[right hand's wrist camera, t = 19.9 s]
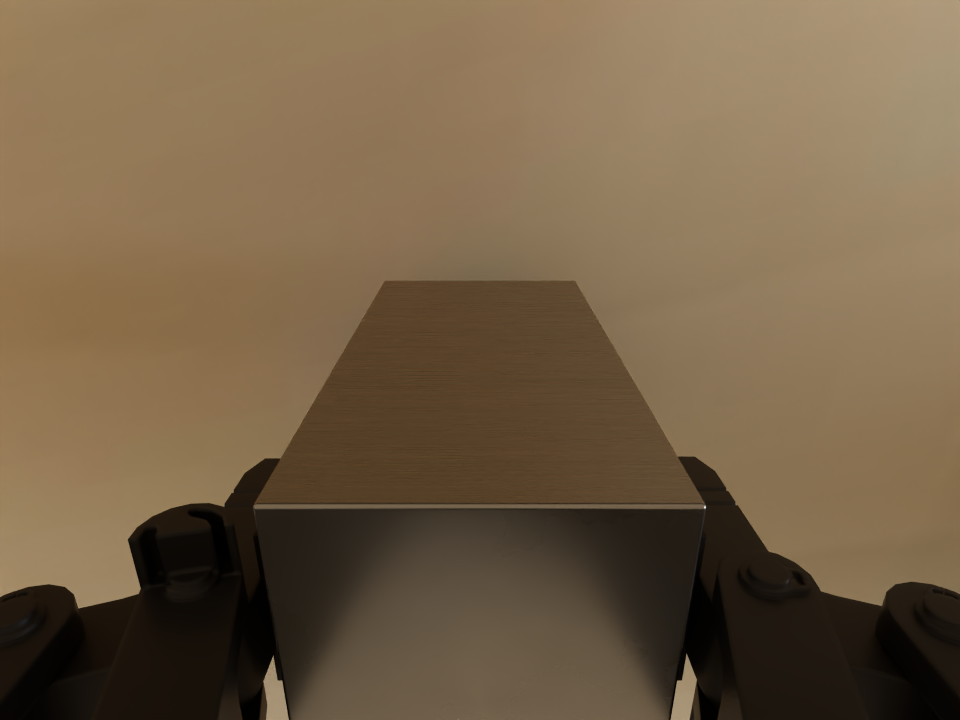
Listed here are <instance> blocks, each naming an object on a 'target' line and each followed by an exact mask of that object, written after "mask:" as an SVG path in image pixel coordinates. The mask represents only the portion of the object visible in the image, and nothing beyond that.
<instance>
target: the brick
mask: <svg viewBox="0 0 960 720" xmlns="http://www.w3.org/2000/svg"><path fill="white" fill-rule="evenodd" d="M253 509H254V515H255V521H256V527H257V533H258V539H259V545H260V551H261V556H262V562H263V568H264V574H265V580H266V586H267V592H268V598H269V604H270V610H271V616H272V622H273V628H274V634H275V640H276V646H277V651H278V657H279V663H280V669H281V675H282V681H283V687H284V693H285V699H286V705H287V711H288V717H289V720H670V719H671V713H672V707H673V701H674V696H675V690H676V684H677V678H678V672H679V666H680V660H681V654H682V648H683V642H684V636H685V630H686V624H687V618H688V612H689V606H690V600H691V594H692V588H693V582H694V576H695V570H696V565H697V559H698V553H699V547H700V541H701V535H702V529H703V523H704V517H705V511H706V505H705V503H704V501H703V499H702V498H701V496H700V494H699V493H698V491H697V489H696V487H695V486H694V484H693V482H692V481H691V479H690V477H689V475H688V474H687V472H686V470H685V469H684V467H683V465H682V463H681V462H680V460H679V458H678V457H677V455H676V453H675V451H674V450H673V448H672V446H671V445H670V443H669V441H668V440H667V438H666V436H665V434H664V433H663V431H662V429H661V428H660V426H659V424H658V422H657V421H656V419H655V417H654V416H653V414H652V412H651V410H650V409H649V407H648V405H647V404H646V402H645V400H644V398H643V397H642V395H641V393H640V392H639V390H638V388H637V386H636V385H635V383H634V381H633V380H632V378H631V376H630V374H629V373H628V371H627V369H626V368H625V366H624V364H623V363H622V361H621V359H620V357H619V356H618V354H617V352H616V351H615V349H614V347H613V345H612V344H611V342H610V340H609V339H608V337H607V335H606V333H605V332H604V330H603V328H602V327H601V325H600V323H599V321H598V320H597V318H596V316H595V315H594V313H593V311H592V309H591V308H590V306H589V304H588V303H587V301H586V299H585V297H584V296H583V294H582V292H581V291H580V289H579V287H578V286H577V284H576V282H575V281H385V282H384V283H383V285H382V287H381V288H380V290H379V292H378V294H377V295H376V297H375V299H374V300H373V302H372V304H371V305H370V307H369V309H368V311H367V312H366V314H365V316H364V317H363V319H362V321H361V323H360V324H359V326H358V328H357V329H356V331H355V333H354V334H353V336H352V338H351V340H350V341H349V343H348V345H347V346H346V348H345V350H344V352H343V353H342V355H341V357H340V358H339V360H338V362H337V363H336V365H335V367H334V369H333V370H332V372H331V374H330V375H329V377H328V379H327V381H326V382H325V384H324V386H323V387H322V389H321V391H320V392H319V394H318V396H317V398H316V399H315V401H314V403H313V404H312V406H311V408H310V410H309V411H308V413H307V415H306V416H305V418H304V420H303V421H302V423H301V425H300V427H299V428H298V430H297V432H296V433H295V435H294V437H293V439H292V440H291V442H290V444H289V445H288V447H287V449H286V450H285V452H284V454H283V456H282V457H281V459H280V461H279V462H278V464H277V466H276V468H275V469H274V471H273V473H272V474H271V476H270V478H269V480H268V481H267V483H266V485H265V486H264V488H263V490H262V491H261V493H260V495H259V497H258V498H257V500H256V502H255V503H254V506H253Z"/></svg>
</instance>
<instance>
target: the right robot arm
mask: <svg viewBox="0 0 960 720" xmlns="http://www.w3.org/2000/svg"><path fill="white" fill-rule="evenodd" d="M678 458H679V460H680V462H681V463H682V465H683V467H684V469H685V470H686V472H687V474H688V475H689V477H690V479H691V481H692V482H693V484H694V486H695V487H696V489H697V491H698V493H699V494H700V496H701V498H702V499H703V501H704V503H705V505H706V511H705V517H704V523H703V529H702V535H701V541H700V547H699V553H698V559H697V565H696V570H695V576H694V582H693V588H692V594H691V600H690V606H689V612H688V618H687V624H686V630H685V636H684V642H683V648H682V654H681V660H680V666H679V672H678V678H677V680H682V676H683V671H684V665H685V659H686V653H687V655H688V658H689V660H690V663H691V666H692V668H693V671H694V673H695V676H696V679H697V683H696V688H695V693H694V699H693V704H692V710H691V715H690V720H960V594H958V593H956V592H954V591H951V590H948V589H945V588H942V587H938V586H935V585H932V584H925V583H917V582H907V583H901V584H895V585H894V586H893V587H892V588H891V589H889V590H888V591H887V592H886V595H885V598H884V601H883V604H882V606H878V605H874V604H869V603H865V602H861V601H856V600H852V599H847V598H843V597H838V596H835V595H831V594H828V593H824V592H821V591H820V589H819V587H818V585H817V584H816V582H815V581H814V579H813V578H812V576H811V575H810V574H809V573H808V572H806V571H805V570H804V569H803V568H801V567H800V566H799V565H798V564H796V563H795V562H793V561H791V560H789V559H787V558H785V557H783V556H780V555H778V554H775V553H771V552H768V550H767V549H766V547H765V546H764V544H763V543H762V541H761V540H760V538H759V537H758V535H757V534H756V532H755V531H754V529H753V528H752V526H751V525H750V523H749V522H748V520H747V519H746V517H745V516H744V514H743V513H742V511H741V510H740V508H739V507H738V505H735V501H734V499H733V498H732V496H731V495H730V493H729V492H728V491H726V487H725V486H724V484H723V483H722V481H721V480H720V478H719V477H718V475H717V474H716V472H715V471H714V470H713V469H711V468H710V467H708V466H707V465H706V464H704V463H703V462H701V461H700V460H699V459H697V458H696V457H678ZM279 461H280V459H264V460H262V461H261V462H260V463H258V464H257V465H256V466H254V467H253V468H251V469H250V470H249V471H247V472H246V473H245V474H244V475H243V477H242V478H241V480H240V481H239V483H238V484H237V486H236V487H235V489H234V493H232V494H231V495H230V497H229V498H228V500H227V501H226V503H225V507H222V506H218V505H214V504H211V503H199V504H188V505H183V506H179V507H175V508H171V509H169V510H166V511H164V512H162V513H159V514H157V515H155V516H153V517H151V518H150V519H148V520H147V521H146V522H144V523H143V524H141V525H140V526H138V527H137V528H136V530H135V531H134V532H133V534H132V535H131V536H130V537H129V539H128V542H129V546H130V550H131V553H132V557H133V561H134V565H135V568H136V572H137V576H138V579H139V583H140V587H141V590H140V592H139V594H137V595H134V596H130V597H127V598H123V599H119V600H115V601H110V602H106V603H102V604H97V605H93V606H88V607H84V608H79V609H78V606H77V603H76V600H75V597H74V594H73V593H71V592H70V591H69V590H68V589H67V588H65V587H62V586H56V585H50V584H48V585H40V586H32V587H27V588H24V589H21V590H18V591H14V592H11V593H9V594H6V595H4V596H2V597H0V720H266V713H267V700H266V694H265V688H264V683H263V681H264V678H265V675H266V673H267V670H268V668H269V665H270V662H271V660H272V657H273V655H274V661H275V667H276V673H277V679H278V680H282V675H281V669H280V663H279V657H278V651H277V646H276V640H275V634H274V628H273V622H272V616H271V610H270V604H269V598H268V592H267V586H266V580H265V574H264V568H263V562H262V556H261V551H260V545H259V539H258V533H257V527H256V521H255V515H254V509H253V506H254V503H255V502H256V500H257V498H258V497H259V495H260V493H261V491H262V490H263V488H264V486H265V485H266V483H267V481H268V480H269V478H270V476H271V474H272V473H273V471H274V469H275V468H276V466H277V464H278V462H279Z"/></svg>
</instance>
